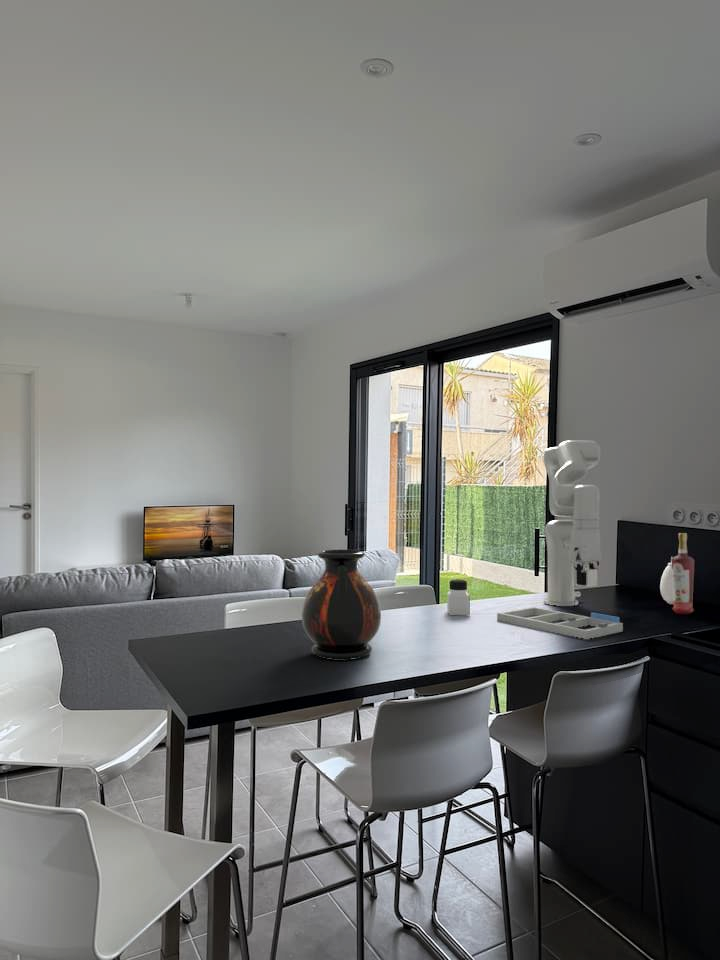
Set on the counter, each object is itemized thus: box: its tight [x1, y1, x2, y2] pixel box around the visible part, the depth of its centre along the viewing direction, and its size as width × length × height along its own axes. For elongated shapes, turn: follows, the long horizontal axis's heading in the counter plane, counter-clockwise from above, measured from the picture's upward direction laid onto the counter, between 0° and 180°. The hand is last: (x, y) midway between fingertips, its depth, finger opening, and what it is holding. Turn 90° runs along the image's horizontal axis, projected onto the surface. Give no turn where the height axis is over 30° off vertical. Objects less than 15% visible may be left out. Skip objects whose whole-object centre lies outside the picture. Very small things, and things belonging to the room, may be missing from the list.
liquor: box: [670, 532, 695, 616], centre depth 246 cm, size 7×7×28 cm
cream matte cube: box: [575, 567, 598, 588], centre depth 218 cm, size 4×4×5 cm
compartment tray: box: [496, 606, 624, 640], centre depth 227 cm, size 19×35×4 cm, turn 37°
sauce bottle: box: [659, 555, 674, 605], centre depth 264 cm, size 8×8×18 cm
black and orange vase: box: [301, 549, 382, 659], centre depth 192 cm, size 22×22×28 cm
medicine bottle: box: [446, 578, 471, 616], centre depth 247 cm, size 7×7×12 cm
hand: (586, 583), depth 218 cm, fingers closed on cream matte cube, 4 cm apart
